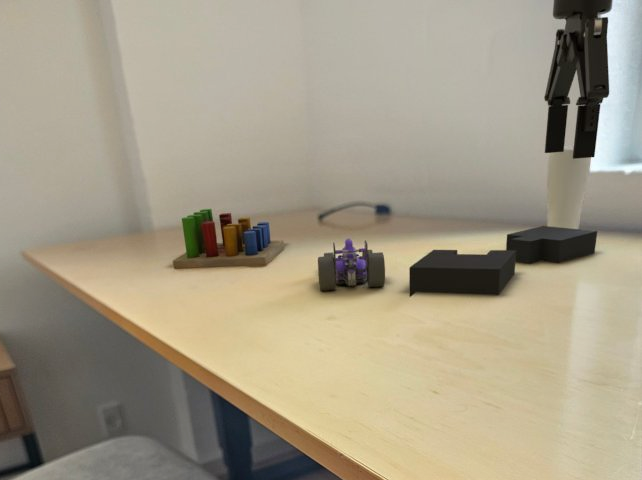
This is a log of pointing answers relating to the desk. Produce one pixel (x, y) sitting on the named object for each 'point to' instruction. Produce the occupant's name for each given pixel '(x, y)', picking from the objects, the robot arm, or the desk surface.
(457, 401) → the desk surface
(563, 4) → the robot arm
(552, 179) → the drinking glass
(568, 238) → the tab pad
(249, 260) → the peg board
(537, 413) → the desk surface
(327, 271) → the toy race car
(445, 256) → the notch pad
